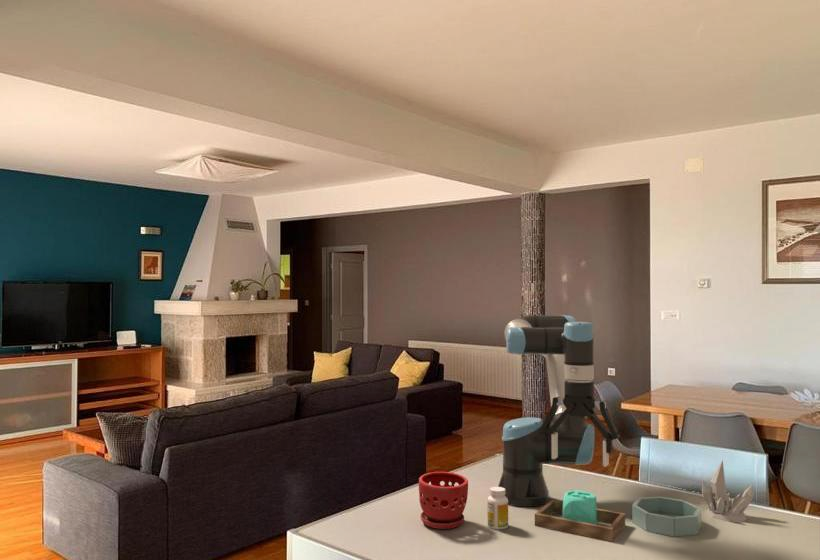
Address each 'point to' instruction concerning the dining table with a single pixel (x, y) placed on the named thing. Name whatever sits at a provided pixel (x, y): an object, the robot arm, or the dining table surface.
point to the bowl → (666, 516)
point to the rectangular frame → (581, 528)
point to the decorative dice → (580, 506)
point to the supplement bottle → (497, 508)
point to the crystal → (725, 499)
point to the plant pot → (442, 499)
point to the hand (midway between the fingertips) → (579, 461)
